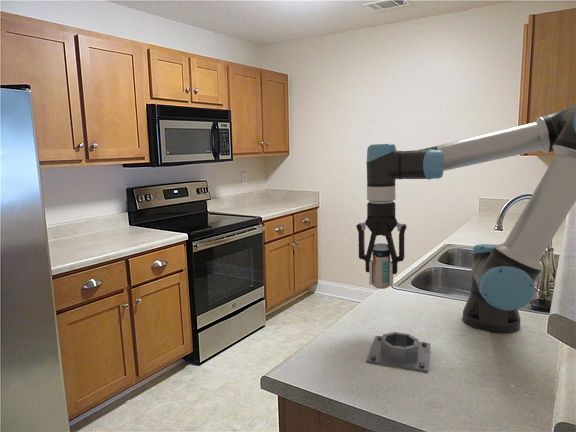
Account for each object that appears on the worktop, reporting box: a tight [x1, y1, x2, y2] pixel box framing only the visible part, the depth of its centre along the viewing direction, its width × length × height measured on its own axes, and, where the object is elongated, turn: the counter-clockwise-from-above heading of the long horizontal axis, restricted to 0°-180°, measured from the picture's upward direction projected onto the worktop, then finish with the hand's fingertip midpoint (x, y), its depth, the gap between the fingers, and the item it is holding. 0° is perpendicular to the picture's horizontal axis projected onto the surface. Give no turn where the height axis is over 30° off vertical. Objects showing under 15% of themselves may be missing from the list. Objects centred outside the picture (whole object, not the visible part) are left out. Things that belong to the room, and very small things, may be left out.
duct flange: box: [365, 331, 431, 373], centre depth 102 cm, size 14×14×4 cm
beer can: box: [372, 242, 391, 290], centre depth 114 cm, size 5×5×12 cm
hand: (381, 283), depth 115 cm, fingers closed on beer can, 5 cm apart
